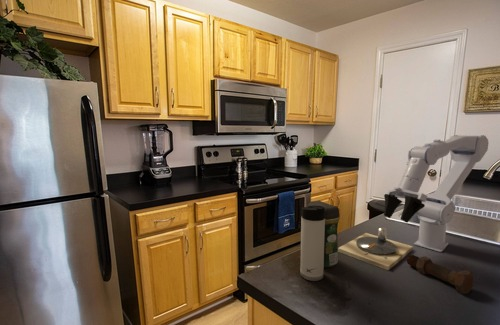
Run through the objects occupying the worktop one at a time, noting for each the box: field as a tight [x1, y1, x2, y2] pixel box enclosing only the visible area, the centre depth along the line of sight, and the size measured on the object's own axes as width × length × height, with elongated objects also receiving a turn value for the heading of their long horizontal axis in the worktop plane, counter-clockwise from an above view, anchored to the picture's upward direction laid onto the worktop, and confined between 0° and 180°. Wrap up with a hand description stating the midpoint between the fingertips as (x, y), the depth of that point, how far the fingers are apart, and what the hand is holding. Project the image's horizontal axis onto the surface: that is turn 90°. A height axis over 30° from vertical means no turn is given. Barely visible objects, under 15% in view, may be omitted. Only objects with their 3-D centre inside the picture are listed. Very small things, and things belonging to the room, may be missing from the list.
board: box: [338, 232, 414, 271], centre depth 87 cm, size 20×16×2 cm
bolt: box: [406, 254, 474, 295], centre depth 71 cm, size 6×5×15 cm
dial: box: [356, 227, 396, 255], centre depth 87 cm, size 12×12×5 cm
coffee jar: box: [307, 200, 341, 268], centre depth 79 cm, size 10×8×19 cm
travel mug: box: [299, 206, 325, 282], centre depth 71 cm, size 6×7×20 cm
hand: (394, 218), depth 82 cm, fingers open, 7 cm apart
